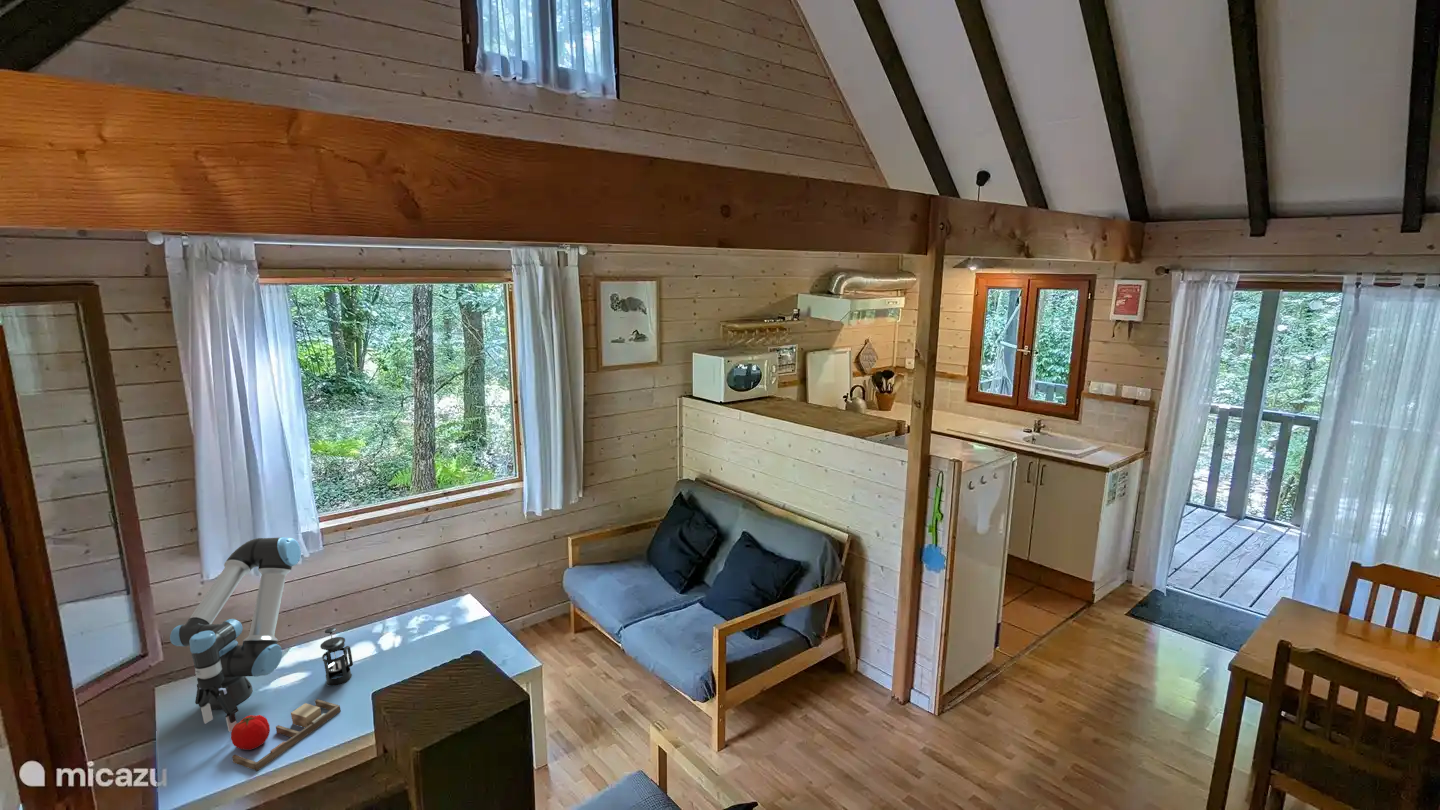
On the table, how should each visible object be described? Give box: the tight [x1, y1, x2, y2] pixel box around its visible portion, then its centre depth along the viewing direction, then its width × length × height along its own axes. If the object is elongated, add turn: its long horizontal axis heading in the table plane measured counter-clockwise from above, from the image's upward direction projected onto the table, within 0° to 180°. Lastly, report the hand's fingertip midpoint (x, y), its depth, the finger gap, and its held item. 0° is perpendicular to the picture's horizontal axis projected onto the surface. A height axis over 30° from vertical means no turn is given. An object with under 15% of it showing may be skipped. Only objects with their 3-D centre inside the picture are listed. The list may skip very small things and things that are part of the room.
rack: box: [231, 698, 342, 772], centre depth 250 cm, size 12×33×3 cm, turn 159°
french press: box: [319, 626, 354, 687], centre depth 281 cm, size 12×9×23 cm
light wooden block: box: [290, 702, 323, 728], centre depth 257 cm, size 8×6×5 cm
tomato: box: [230, 714, 271, 751], centre depth 245 cm, size 12×12×11 cm
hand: (220, 725), depth 251 cm, fingers open, 13 cm apart
